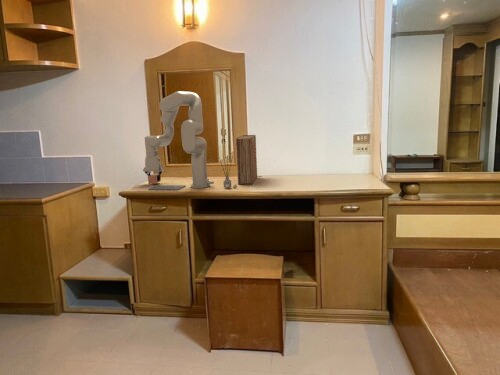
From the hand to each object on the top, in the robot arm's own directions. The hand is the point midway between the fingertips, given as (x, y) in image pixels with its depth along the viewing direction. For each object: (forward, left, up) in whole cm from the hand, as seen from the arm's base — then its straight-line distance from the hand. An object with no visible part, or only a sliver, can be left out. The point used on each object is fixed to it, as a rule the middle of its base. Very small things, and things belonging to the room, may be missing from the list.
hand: (154, 180), depth 265 cm
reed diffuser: (-56, +12, -3) cm, 57 cm away
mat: (-16, +14, -2) cm, 21 cm away
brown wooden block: (-63, -11, -3) cm, 64 cm away
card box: (0, 0, -1) cm, 1 cm away
